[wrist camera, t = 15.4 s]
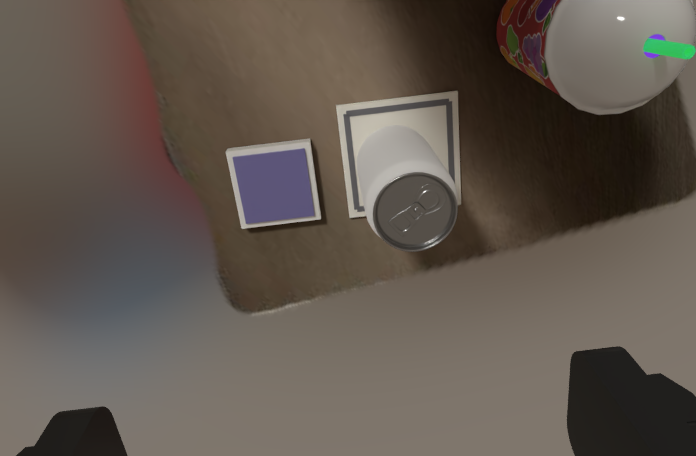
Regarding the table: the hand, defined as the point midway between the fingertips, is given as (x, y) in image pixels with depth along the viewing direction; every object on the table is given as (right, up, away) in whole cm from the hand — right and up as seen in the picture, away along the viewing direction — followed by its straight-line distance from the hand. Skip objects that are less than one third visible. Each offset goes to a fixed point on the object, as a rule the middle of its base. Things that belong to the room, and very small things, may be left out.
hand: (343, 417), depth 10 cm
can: (+4, +9, +38) cm, 39 cm away
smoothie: (+15, +19, +34) cm, 42 cm away
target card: (+5, +9, +38) cm, 39 cm away
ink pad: (-6, +7, +38) cm, 39 cm away
